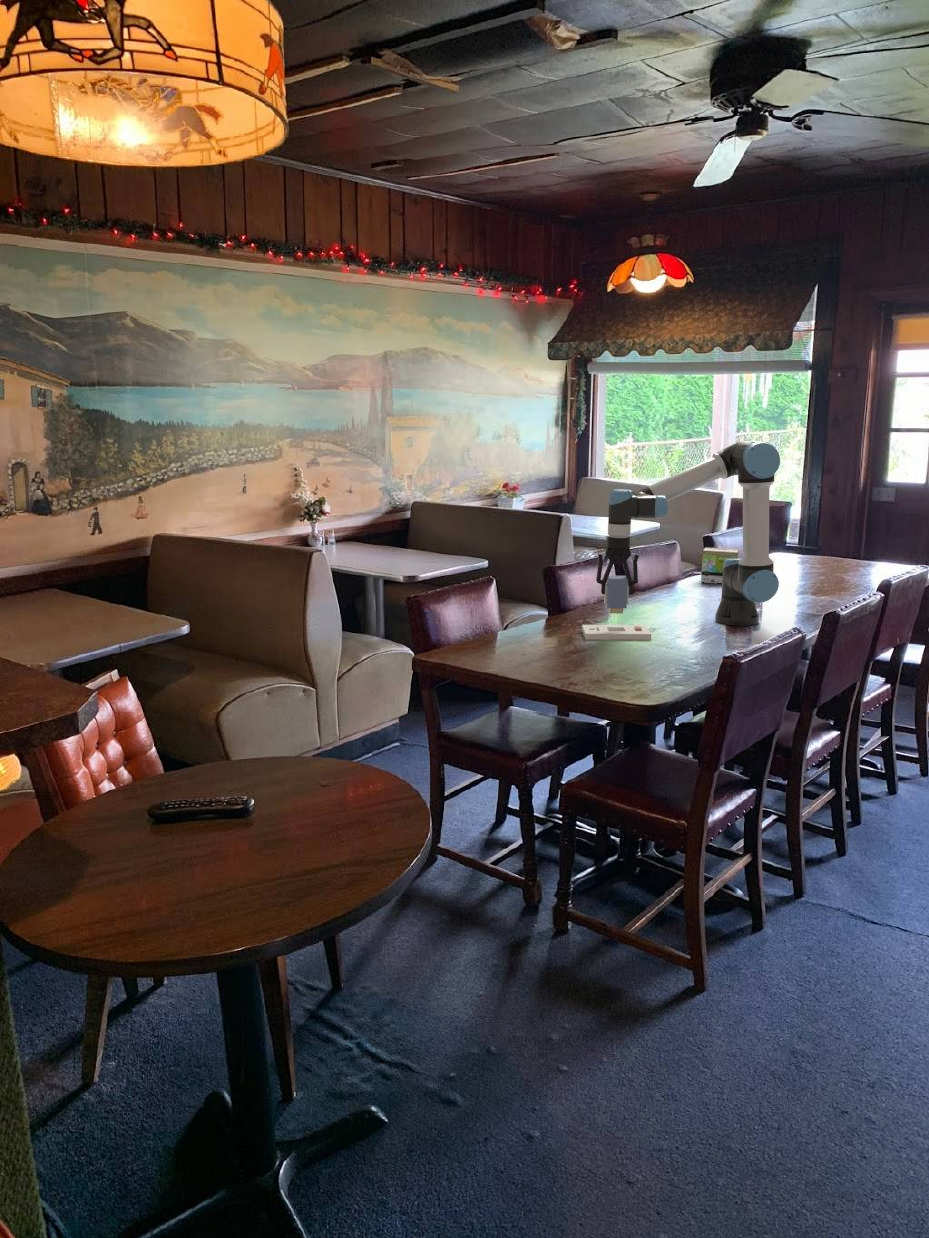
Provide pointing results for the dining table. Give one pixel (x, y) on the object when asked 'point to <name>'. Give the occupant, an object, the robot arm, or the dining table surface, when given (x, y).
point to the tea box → (715, 563)
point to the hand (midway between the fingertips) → (616, 603)
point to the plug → (617, 594)
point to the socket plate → (616, 632)
